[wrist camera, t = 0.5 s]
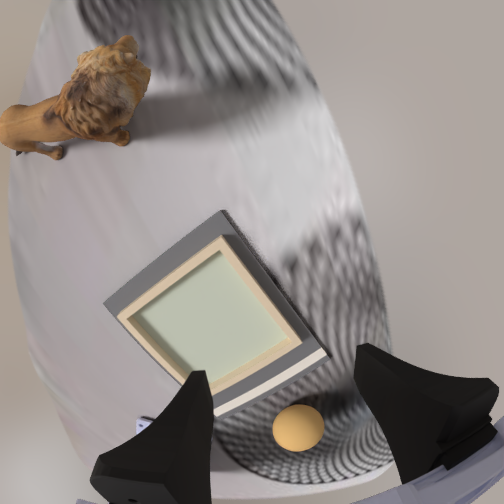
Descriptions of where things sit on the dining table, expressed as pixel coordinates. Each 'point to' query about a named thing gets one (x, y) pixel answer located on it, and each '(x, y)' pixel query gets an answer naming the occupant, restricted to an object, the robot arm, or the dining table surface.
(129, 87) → the lion figurine
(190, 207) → the dining table surface
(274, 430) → the ball
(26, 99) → the dining table surface
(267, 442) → the dining table surface
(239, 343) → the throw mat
